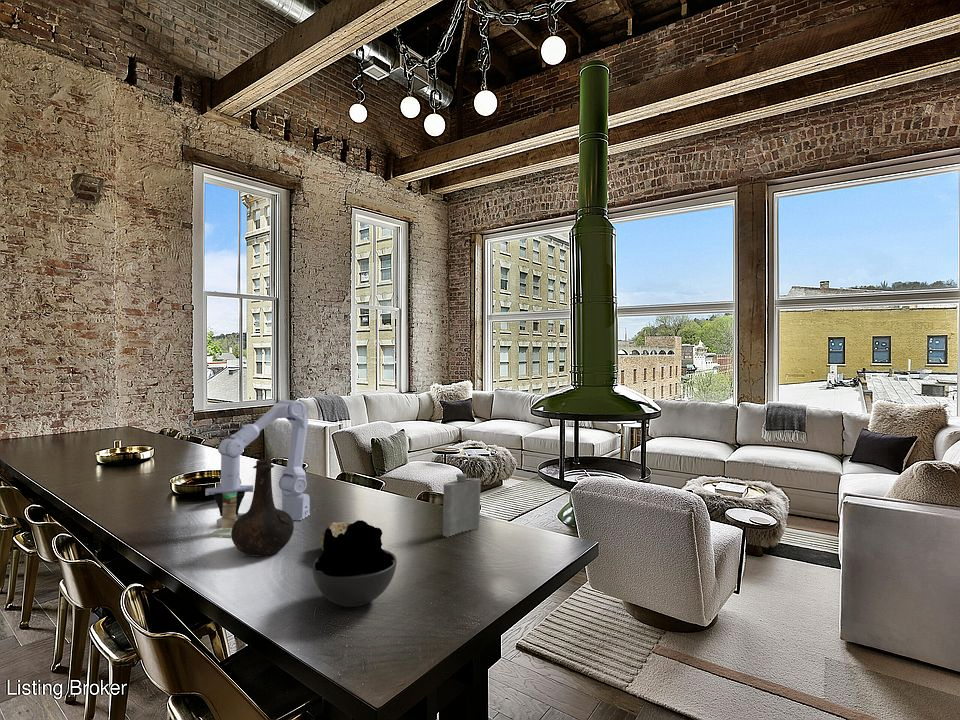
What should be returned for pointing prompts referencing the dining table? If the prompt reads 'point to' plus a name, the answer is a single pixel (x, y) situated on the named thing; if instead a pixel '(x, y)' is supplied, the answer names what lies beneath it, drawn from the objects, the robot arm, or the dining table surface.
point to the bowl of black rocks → (354, 565)
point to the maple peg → (228, 516)
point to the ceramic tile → (222, 532)
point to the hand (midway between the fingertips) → (229, 514)
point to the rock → (336, 529)
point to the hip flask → (461, 505)
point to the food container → (229, 496)
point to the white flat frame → (219, 521)
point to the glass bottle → (262, 519)
